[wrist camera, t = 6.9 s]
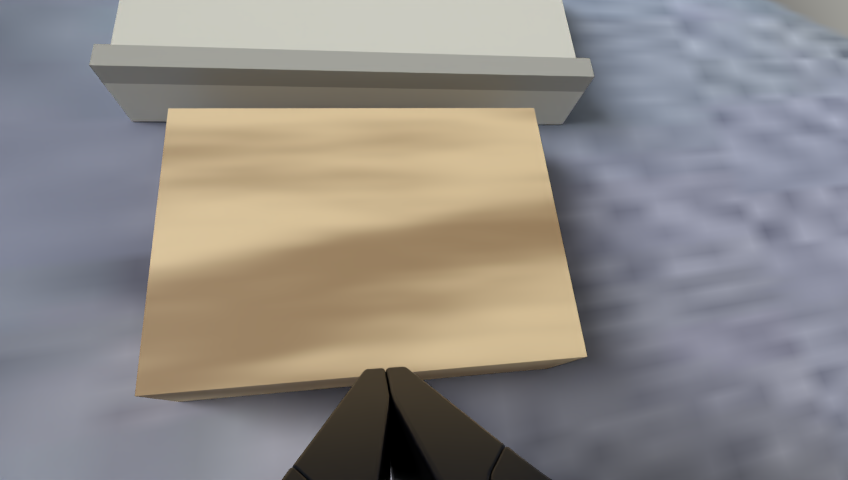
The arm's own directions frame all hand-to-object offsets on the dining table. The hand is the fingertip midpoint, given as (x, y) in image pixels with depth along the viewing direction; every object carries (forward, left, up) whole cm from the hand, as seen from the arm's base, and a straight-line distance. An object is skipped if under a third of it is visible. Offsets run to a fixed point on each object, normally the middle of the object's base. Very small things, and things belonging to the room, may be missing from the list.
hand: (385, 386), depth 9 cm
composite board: (+13, -10, -9) cm, 19 cm away
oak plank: (+1, 0, -7) cm, 7 cm away
